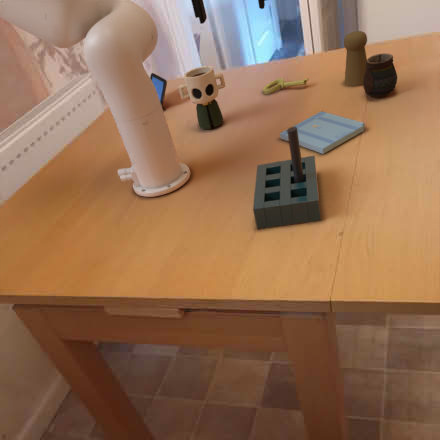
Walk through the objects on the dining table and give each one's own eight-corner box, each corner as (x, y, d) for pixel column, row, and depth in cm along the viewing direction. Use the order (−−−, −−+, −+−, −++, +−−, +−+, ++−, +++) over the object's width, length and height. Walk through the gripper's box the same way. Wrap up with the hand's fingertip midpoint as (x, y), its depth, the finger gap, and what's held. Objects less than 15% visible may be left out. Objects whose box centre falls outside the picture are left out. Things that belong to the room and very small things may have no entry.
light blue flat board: (367, 129, 96) (367, 123, 96) (323, 154, 93) (322, 148, 92) (321, 116, 106) (321, 110, 105) (280, 138, 102) (279, 133, 102)
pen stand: (257, 229, 80) (252, 209, 77) (260, 183, 90) (257, 164, 88) (321, 220, 77) (318, 199, 75) (316, 174, 88) (314, 155, 85)
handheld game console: (127, 110, 141) (118, 85, 136) (160, 97, 143) (152, 71, 138) (140, 120, 132) (131, 94, 127) (175, 106, 134) (167, 79, 129)
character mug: (191, 137, 115) (176, 83, 106) (190, 126, 120) (175, 73, 112) (235, 124, 114) (222, 69, 106) (231, 114, 120) (219, 60, 111)
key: (307, 89, 120) (306, 80, 118) (261, 95, 124) (259, 87, 123) (312, 78, 124) (311, 70, 123) (267, 84, 129) (265, 76, 128)
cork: (373, 75, 116) (372, 27, 109) (364, 86, 113) (363, 36, 106) (349, 76, 119) (347, 29, 112) (340, 86, 116) (337, 38, 109)
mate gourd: (392, 85, 109) (392, 39, 103) (401, 97, 104) (402, 48, 97) (360, 92, 111) (359, 47, 104) (367, 104, 105) (366, 57, 98)
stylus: (297, 202, 83) (287, 132, 74) (297, 197, 84) (287, 127, 76) (306, 200, 82) (297, 130, 74) (306, 195, 84) (297, 126, 75)
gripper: (140, -104, 64) (177, 33, 75) (267, -145, 59) (286, 6, 71) (152, -108, 69) (185, 21, 80) (269, -146, 65) (286, -5, 76)
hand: (232, 14), depth 75 cm, fingers open, 9 cm apart
